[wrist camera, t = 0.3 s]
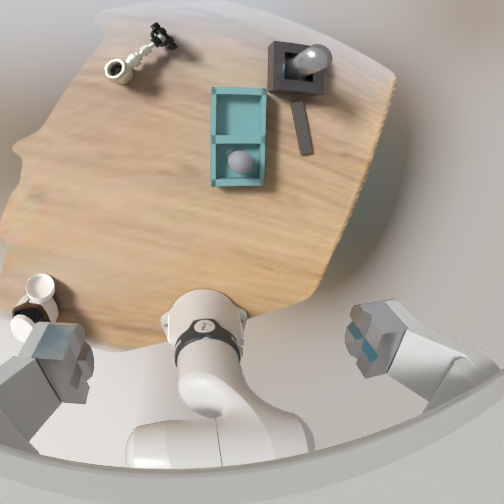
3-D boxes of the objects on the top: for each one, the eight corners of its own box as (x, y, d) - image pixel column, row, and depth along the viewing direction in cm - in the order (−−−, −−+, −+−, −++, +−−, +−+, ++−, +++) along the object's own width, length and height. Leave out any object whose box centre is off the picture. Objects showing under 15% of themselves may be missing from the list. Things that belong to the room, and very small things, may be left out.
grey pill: (304, 81, 47) (332, 70, 36) (282, 78, 46) (306, 66, 35) (304, 61, 45) (332, 46, 34) (283, 58, 45) (306, 42, 34)
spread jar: (34, 317, 56) (16, 348, 45) (15, 276, 51) (-8, 303, 40) (72, 312, 57) (56, 345, 47) (54, 268, 52) (31, 296, 42)
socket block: (314, 95, 49) (323, 93, 46) (267, 91, 48) (273, 88, 44) (314, 52, 46) (323, 48, 42) (268, 46, 44) (273, 40, 40)
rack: (259, 182, 54) (268, 189, 48) (210, 183, 53) (212, 190, 46) (262, 91, 47) (271, 85, 41) (211, 89, 46) (213, 83, 40)
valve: (125, 95, 43) (178, 51, 42) (116, 90, 37) (176, 41, 36) (104, 71, 41) (157, 28, 39) (93, 65, 35) (152, 16, 33)
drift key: (310, 152, 54) (312, 152, 53) (299, 154, 54) (301, 154, 53) (300, 101, 50) (302, 100, 49) (289, 103, 50) (291, 102, 48)
